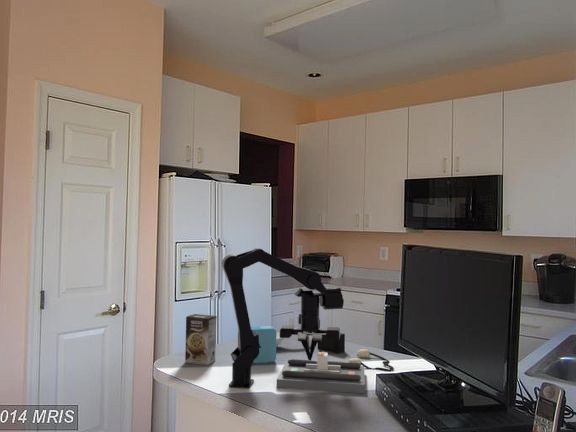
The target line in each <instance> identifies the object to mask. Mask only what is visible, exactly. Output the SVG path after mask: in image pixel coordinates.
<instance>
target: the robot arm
mask: <svg viewBox="0 0 576 432" xmlns="http://www.w3.org/2000/svg"><path fill="white" fill-rule="evenodd" d="M257 263H261V264H264V265H266V266H268V267H270V268H271V269H274V270H276V271H278V272H281V273H282V274H284V275H287V276H289V277H290V278H291V279H293V280H294V281H295V282H297V283H298V284H299V285H301V286H303V287H304V288H306V289H308V290H304V289H303V288H301V287H300V288H299V289H298V290H297V291H296V292H295V293H294V296H296V297H298V298H300V297H301V298H300V313H299V314H298V324H299V325H300V328H296V329H294V328H295V325H287V324H286V325H285V324H283V325H282V326H281V327H280V329H279V332H280V338H284V339H290V338H291V337H292V336H294V335H295V336H297V337H298V338H297V342H300V343H301V345H302V347H303V349H304V351H305V355H306V357H307V360H313V359H312V358H313V355H314V351H315V349H316V346H318V342H321V340H322V336H327V338H328V339H329V340H340V333H341V329H340V328H339V327H338V326H327V329H321V319H320V307H322V308H323V310H324V311H325V310H326V311H327V310H342V309H343V308H344V303H345V302H344V296H343V293H342V288H341V287H338V286H337V287H331V288H327V287H326V286H325V285H324V284H323V282H322V277H321V274H320V273H318V272H317V271H314V270H311V269H308V268H305V267H304V268H303V267H301V266H296V265H295V264H291V263H290V262H287V261H285V260H283V259H281V258H279V257H277V256H275V255H273V254H271V253H268V252H266V251H265V250H264V249H262V248H259V247H256V248H253V249H252V250H248V251H245V252H242V253H239V254H236V255H235V254H227V255H225V256H224V257H223V259H222V261H221V267H222V270H223V272H224V274H225V277H226V280H227V282H228V284H229V287H230V292H231V294H230V295H231V298H232V303H233V310H234V314H235V319H236V325H237V347H236V348H235V349H234V350H233V351H232V352H231V353H230V357H231V359H232V365H231V367H232V370H231V371H232V373H231V381H230V383H229V384H228V388H229V387H230V388H245V389H246V388H249V389H250V388H251V386H252V385H253V384H254V381H255V379H253V378H252V366H253V361H254V360H255V359H256V358H257V357H258V355H259V348H261V346H260V344H259V335H258V334H257V332H256V331H253V332H252V330H251V327H252V326H251V322H250V317H249V311H248V306H247V302H246V301H247V300H246V295H245V292H244V284H243V279H244V269H246V268H248V267H250V266H252V265H254V264H257ZM314 290H315V291H317V292H313V291H314ZM309 336H312V337H311V339H310V337H309ZM309 339H310V341H311V347H309Z"/></svg>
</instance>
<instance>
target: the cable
mask: <svg viewBox="0 0 576 432" xmlns="http://www.w3.org/2000/svg"><path fill="white" fill-rule="evenodd" d="M356 353H357V354H356V357H359V358H356V357H355V358H349V360H347V362H351V363H360V365H361V366H364V369H367V370H376V371H385V372H392V371H391V370H393V369H394V370H395V368H394V367H393V366H392V365H390V364H389V363H390V360H388V359H387V358H385V357H383V356H381V355H378V354H375V353H374V352H373V353H372V352H370V351H369V349H367V348H363V349H362V348H361V349H358V351H356ZM370 356H372V357H376V358H378V359H381V360H383V361H382V364H383V365H384V366H385V367H388V368H384V367H374V368H373V367H370V366H368V365H366V364H365V363H363V362H362V360H361V359H360V358H363V359H365V358H366V359H368V358H370ZM394 370H393V371H394Z"/></svg>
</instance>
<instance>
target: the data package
mask: <svg viewBox="0 0 576 432" xmlns="http://www.w3.org/2000/svg"><path fill="white" fill-rule="evenodd" d="M251 330H252V332H253V331H256V332H257V334H258V335H259V344H260V346H261V348H259V355H258V357H257V358H256V359H255V360H254V361H253V363H256V364H267V363H268V364H269V362H270V363H274V362H275V361H276V359H277V346H276V333H277V330H276V329H275V327H273V326H272V325H264V326H263V325H261V326H251Z"/></svg>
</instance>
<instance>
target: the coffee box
mask: <svg viewBox="0 0 576 432" xmlns="http://www.w3.org/2000/svg"><path fill="white" fill-rule="evenodd" d="M185 318H186V319H185V350H184V351H185V355H184V356H185V357H184V359H185V360H184V361H185V363H189V364H195V365H202V366H209V365H210V364H212V363H214V362H215V361H216V354H217V353H216V350H217V349H216V347H217V346H216V344H217V339H216V338H217V315H211V314H210V315H209V314H200V313H194V314H189V315H187V316H186V317H185Z"/></svg>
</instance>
